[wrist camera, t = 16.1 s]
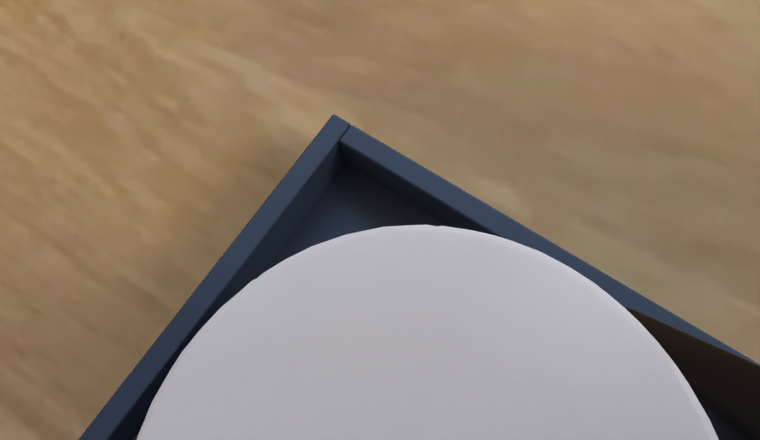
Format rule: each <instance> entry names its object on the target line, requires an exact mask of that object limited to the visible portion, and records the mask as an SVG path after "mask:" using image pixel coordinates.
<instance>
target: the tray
mask: <svg viewBox="0 0 760 440" xmlns="http://www.w3.org/2000/svg"><path fill="white" fill-rule="evenodd" d="M405 225H432V226H447V227H453V228H461V229H467V230H473V231H478V232H482V233H486V234H491V235H495V236H498V237H502V238H505V239H508V240H511V241H514V242H516V243H519V244H522V245H524V246H527V247H530V248H532V249H535V250H538V251H540V252H542V253H544V254H546V255H548V256H550V257H552V258H553V259H555V260H557V261H559V262H561V263H563V264H565V265H567V266H568V267H570V268H572V269H573V270H575V271H577V272H578V273H580V274H581V275H583V276H584V277H586V278H587V279H589V280H591V281H592V282H594V283H595V284H596V285H598V286H599V287H600V288H601V289H603V290H604V291H605V292H606V293H608V294H609V295H610V296H611V297H612V298H614V299H615V300H616V301H617V302H618V303H620V304H621V305H622V306H623V307H627V308H630V309H633V310H635V311H638V312H640V313H642V314H644V315H647V316H649V317H651V318H653V319H656V320H658V321H660V322H662V323H665V324H667V325H669V326H671V327H674V328H676V329H678V330H680V331H683V332H685V333H687V334H689V335H692V336H694V337H696V338H698V339H700V340H703V341H705V342H707V343H709V344H712V345H714V346H716V347H718V348H721V349H723V350H725V351H727V352H730V353H732V354H734V355H736V356H739V357H741V358H743V359H745V360H748V361H750V362H752V363H754V364H757V365H759V364H758V363H756V362H754V361H753V360H751V359H749V358H747V357H746V356H744V355H742V354H741V353H739V352H737V351H736V350H734V349H732V348H730V347H729V346H727V345H725V344H724V343H722V342H720V341H719V340H717V339H715V338H713V337H712V336H710V335H708V334H707V333H705V332H703V331H701V330H700V329H698V328H696V327H695V326H693V325H691V324H690V323H688V322H686V321H684V320H683V319H681V318H679V317H678V316H676V315H674V314H673V313H671V312H669V311H667V310H666V309H664V308H662V307H661V306H659V305H657V304H656V303H654V302H652V301H650V300H649V299H647V298H645V297H644V296H642V295H640V294H639V293H637V292H635V291H633V290H632V289H630V288H628V287H627V286H625V285H623V284H622V283H620V282H618V281H616V280H615V279H613V278H611V277H610V276H608V275H606V274H605V273H603V272H601V271H599V270H598V269H596V268H594V267H593V266H591V265H589V264H588V263H586V262H584V261H582V260H581V259H579V258H577V257H576V256H574V255H572V254H571V253H569V252H567V251H565V250H564V249H562V248H560V247H559V246H557V245H555V244H553V243H552V242H550V241H548V240H547V239H545V238H543V237H542V236H540V235H538V234H536V233H535V232H533V231H531V230H530V229H528V228H526V227H525V226H523V225H521V224H519V223H518V222H516V221H514V220H513V219H511V218H509V217H508V216H506V215H504V214H502V213H501V212H499V211H497V210H496V209H494V208H492V207H491V206H489V205H487V204H485V203H484V202H482V201H480V200H479V199H477V198H475V197H474V196H472V195H470V194H468V193H467V192H465V191H463V190H462V189H460V188H458V187H457V186H455V185H453V184H451V183H450V182H448V181H446V180H445V179H443V178H441V177H440V176H438V175H436V174H434V173H433V172H431V171H429V170H428V169H426V168H424V167H423V166H421V165H419V164H417V163H416V162H414V161H412V160H411V159H409V158H407V157H405V156H404V155H402V154H400V153H399V152H397V151H395V150H394V149H392V148H390V147H388V146H387V145H385V144H383V143H382V142H380V141H378V140H377V139H375V138H373V137H371V136H370V135H368V134H366V133H365V132H363V131H361V130H360V129H358V128H356V127H354V126H352V125H350V123H348V122H346V121H345V120H343V119H341V118H339V117H338V116H336V115H332V116H331V118H330V119H329V120H328V122H327V123H326V124H325V125H324V127H323V128H322V129H321V131H320V132H319V133H318V134H317V136H316V137H315V138H314V139H313V141H312V142H311V143H310V145H309V146H308V147H307V148H306V150H305V151H304V152H303V154H302V155H301V156H300V157H299V159H298V160H297V161H296V162H295V164H294V165H293V166H292V168H291V169H290V170H289V171H288V173H287V174H286V175H285V177H284V178H283V179H282V180H281V182H280V183H279V184H278V185H277V187H276V188H275V189H274V191H273V192H272V193H271V194H270V196H269V197H268V198H267V199H266V201H265V202H264V203H263V205H262V206H261V207H260V208H259V210H258V211H257V212H256V214H255V215H254V216H253V217H252V219H251V220H250V221H249V222H248V224H247V225H246V226H245V228H244V229H243V230H242V231H241V233H240V234H239V235H238V237H237V238H236V239H235V240H234V242H233V243H232V244H231V245H230V247H229V248H228V249H227V251H226V252H225V253H224V254H223V256H222V257H221V258H220V259H219V261H218V262H217V263H216V265H215V266H214V267H213V268H212V270H211V271H210V272H209V274H208V275H207V276H206V277H205V279H204V280H203V281H202V282H201V284H200V285H199V286H198V288H197V289H196V290H195V291H194V293H193V294H192V295H191V297H190V298H189V299H188V300H187V302H186V303H185V304H184V305H183V307H182V308H181V309H180V311H179V312H178V313H177V314H176V316H175V317H174V318H173V320H172V321H171V322H170V323H169V325H168V326H167V327H166V328H165V330H164V331H163V332H162V334H161V335H160V336H159V337H158V339H157V340H156V341H155V342H154V344H153V345H152V346H151V348H150V349H149V350H148V351H147V353H146V354H145V355H144V357H143V358H142V359H141V360H140V362H139V363H138V364H137V365H136V367H135V368H134V369H133V371H132V372H131V373H130V374H129V376H128V377H127V378H126V380H125V381H124V382H123V383H122V385H121V386H120V387H119V388H118V390H117V391H116V392H115V394H114V395H113V396H112V397H111V399H110V400H109V401H108V402H107V404H106V405H105V406H104V408H103V409H102V410H101V411H100V413H99V414H98V415H97V417H96V418H95V419H94V420H93V422H92V423H91V424H90V425H89V427H88V428H87V429H86V431H85V432H84V433H83V434H82V436H81V437H80V438H79V440H133V439H134V438H135V437H136V436H137V435H138V434H139V432H140V430H141V427H142V425H143V422H144V420H145V417H146V415H147V413H148V410H149V408H150V405H151V403H152V401H153V399H154V398H155V396H156V394H157V392H158V391H159V389H160V387H161V385H162V384H163V382H164V380H165V378H166V377H167V375H168V373H169V371H170V370H171V368H172V366H173V365H174V363H175V362H176V360H177V359H178V357H179V356H180V354H181V352H182V351H183V350H184V349H185V348H186V346H187V345H188V344H189V343H190V342H191V340H192V339H193V338H194V336H195V335H196V334H197V333H198V331H199V330H200V329H201V328H202V327H203V326H204V325H205V324H206V323H207V322H208V321H209V320H210V318H211V317H212V316H213V315H214V314H215V313H216V312H217V311H218V310H219V309H220V308H221V307H222V306H223V305H224V304H225V303H227V302H228V301H229V300H230V299H231V298H233V297H234V296H235V295H236V294H237V293H238V292H240V291H241V290H242V289H243V288H244V287H245V286H246V285H247V284H249V283H250V282H251V281H252V280H254V279H257V278H258V277H259V276H260V275H261V274H262V273H264V272H266V271H267V270H269V269H270V268H272V267H274V266H275V265H277V264H279V263H280V262H282V261H283V260H285V259H287V258H289V257H291V256H293V255H295V254H297V253H299V252H301V251H303V250H305V249H307V248H309V247H311V246H314V245H317V244H320V243H323V242H326V241H328V240H331V239H334V238H337V237H340V236H343V235H346V234H351V233H356V232H360V231H365V230H370V229H375V228H380V227H388V226H405ZM759 366H760V365H759Z"/></svg>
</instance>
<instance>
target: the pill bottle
mask: <svg viewBox="0 0 760 440" xmlns="http://www.w3.org/2000/svg"><path fill="white" fill-rule="evenodd" d="M137 440H719V439H718V437H717V435H716V432H715V430H714V428H713V426H712V424H711V422H710V419H709V418H708V416H707V414H706V413H705V411H704V409H703V407H702V406H701V404H700V402H699V400H698V399H697V397H696V395H695V394H694V392H693V390H692V388H691V387H690V385H689V383H688V382H687V380H686V379H685V377H684V376H683V375H682V373H681V372H680V370H679V369H678V367H677V366H676V364H675V363H674V362H673V360H672V359H671V358H670V357H669V355H668V354H667V353H666V352H665V350H664V349H663V348H662V347H661V345H660V344H659V343H658V342H657V341H656V339H655V338H654V337H653V336H652V335H651V334H650V333H649V332H648V331H647V330H646V328H645V327H644V326H643V325H642V324H641V323H640V322H639V321H638V320H637V319H636V318H635V317H634V316H633V315H632V314H631V313H630V312H628V311H627V310H626V309H625V308H624V307H623V306H622V305H621V304H620V303H618V302H617V301H616V300H615V299H614V298H612V297H611V296H610V295H609V294H608V293H606V292H605V291H604V290H603V289H601V288H600V287H599V286H598V285H596V284H595V283H594V282H592V281H591V280H589V279H587V278H586V277H584V276H583V275H581V274H580V273H578V272H577V271H575V270H573V269H572V268H570V267H568V266H567V265H565V264H563V263H561V262H559V261H557V260H555V259H553V258H552V257H550V256H548V255H546V254H544V253H542V252H540V251H538V250H535V249H532V248H530V247H527V246H524V245H522V244H519V243H516V242H514V241H511V240H508V239H505V238H502V237H498V236H495V235H491V234H486V233H482V232H478V231H473V230H467V229H461V228H453V227H447V226H432V225H405V226H388V227H380V228H375V229H370V230H365V231H360V232H356V233H351V234H346V235H343V236H340V237H337V238H334V239H331V240H328V241H326V242H323V243H320V244H317V245H314V246H311V247H309V248H307V249H305V250H303V251H301V252H299V253H297V254H295V255H293V256H291V257H289V258H287V259H285V260H283V261H282V262H280V263H279V264H277V265H275V266H274V267H272V268H270V269H269V270H267V271H266V272H264V273H262V274H261V275H260V276H259V277H258V278H257V279H254V280H252V281H251V282H250V283H249V284H247V285H246V286H245V287H244V288H243V289H242V290H241V291H240V292H238V293H237V294H236V295H235V296H234V297H233V298H231V299H230V300H229V301H228V302H227V303H225V304H224V305H223V306H222V307H221V308H220V309H219V310H218V311H217V312H216V313H215V314H214V315H213V316H212V317H211V318H210V320H209V321H208V322H207V323H206V324H205V325H204V326H203V327H202V328H201V329H200V330H199V331H198V333H197V334H196V335H195V336H194V338H193V339H192V340H191V342H190V343H189V344H188V345H187V346H186V348H185V349H184V350H183V351H182V352H181V354H180V356H179V357H178V359H177V360H176V362H175V363H174V365H173V366H172V368H171V370H170V371H169V373H168V375H167V377H166V378H165V380H164V382H163V384H162V385H161V387H160V389H159V391H158V392H157V394H156V396H155V398H154V399H153V401H152V403H151V405H150V408H149V410H148V413H147V415H146V417H145V420H144V422H143V425H142V427H141V430H140V432H139V434H138V437H137Z"/></svg>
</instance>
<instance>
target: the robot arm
mask: <svg viewBox="0 0 760 440" xmlns="http://www.w3.org/2000/svg"><path fill="white" fill-rule="evenodd" d="M624 308H625V309H626V310H627V311H628V312H630V313H631V314H632V315H633V316H634V317H635V318H636V319H637V320H638V321H639V322H640V323H641V324H642V325H643V326H644V327H645V328H646V330H647V331H648V332H649V333H650V334H651V335H652V336H653V337H654V338H655V339H656V341H657V342H658V343H659V344H660V345H661V347H662V348H663V349H664V350H665V352H666V353H667V354H668V355H669V357H670V358H671V359H672V360H673V362H674V363H675V364H676V366H677V367H678V369H679V370H680V372H681V373H682V375H683V376H684V377H685V379H686V380H687V382H688V383H689V385H690V387H691V388H692V390H693V392H694V394H695V395H696V397H697V399H698V400H699V402H700V404H701V406H702V407H703V409H704V411H705V413H706V414H707V416H708V418H709V419H710V422H711V424H712V426H713V428H714V430H715V432H716V435H717V437H718V439H719V440H760V366H759V365H757V364H754V363H752V362H750V361H748V360H745V359H743V358H741V357H739V356H736V355H734V354H732V353H730V352H727V351H725V350H723V349H721V348H718V347H716V346H714V345H712V344H709V343H707V342H705V341H703V340H700V339H698V338H696V337H694V336H692V335H689V334H687V333H685V332H683V331H680V330H678V329H676V328H674V327H671V326H669V325H667V324H665V323H662V322H660V321H658V320H656V319H653V318H651V317H649V316H647V315H644V314H642V313H640V312H638V311H635V310H633V309H630V308H627V307H624ZM137 437H138V435H137V436H136V437H135V438H134V439H133V440H137Z"/></svg>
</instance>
